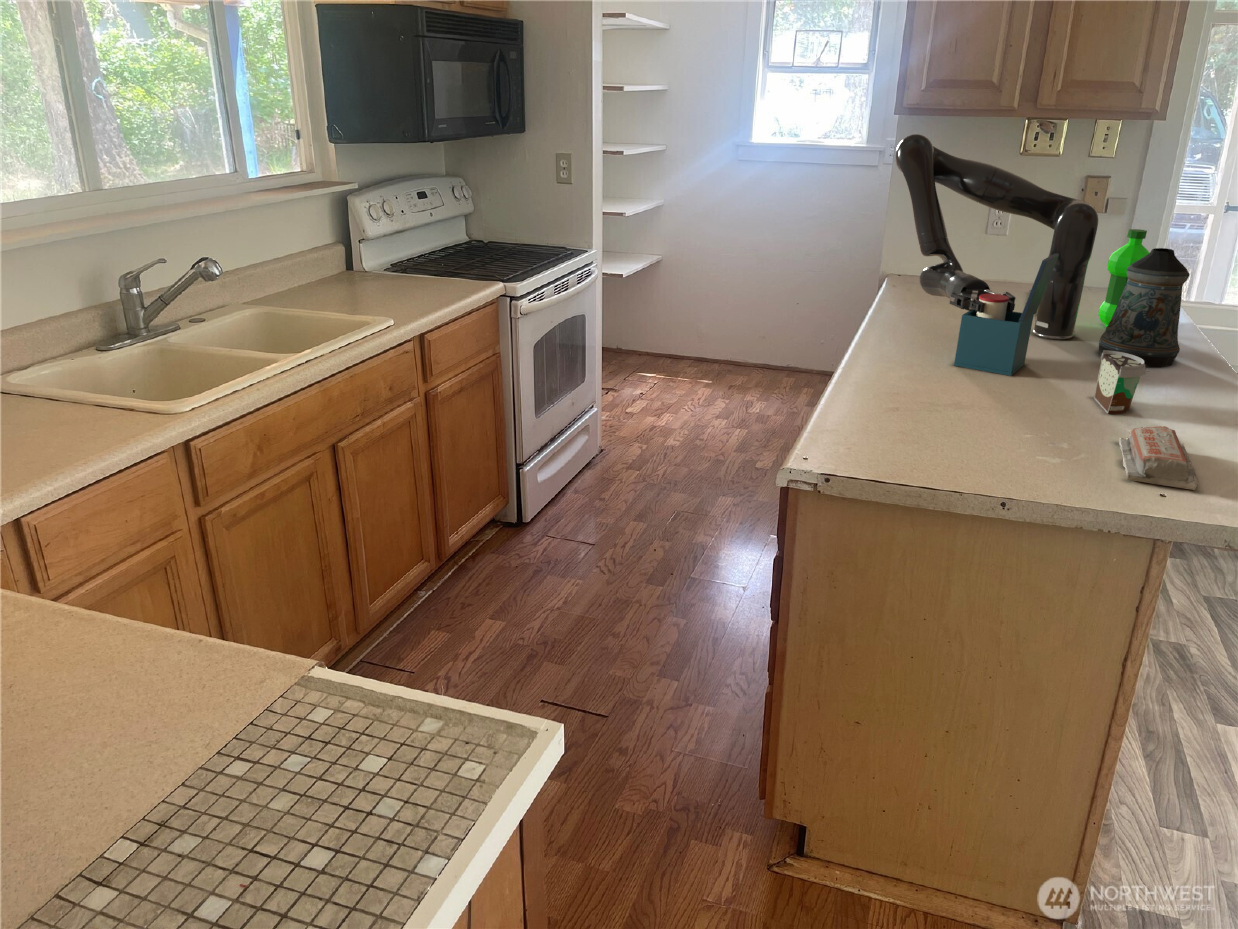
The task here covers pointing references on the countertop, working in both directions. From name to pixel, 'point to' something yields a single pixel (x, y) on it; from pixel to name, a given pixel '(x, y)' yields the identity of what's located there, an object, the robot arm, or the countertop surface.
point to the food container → (1118, 381)
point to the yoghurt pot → (994, 306)
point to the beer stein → (1149, 310)
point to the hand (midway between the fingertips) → (997, 308)
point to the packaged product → (1157, 458)
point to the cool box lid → (1039, 287)
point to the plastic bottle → (1121, 271)
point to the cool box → (993, 343)
